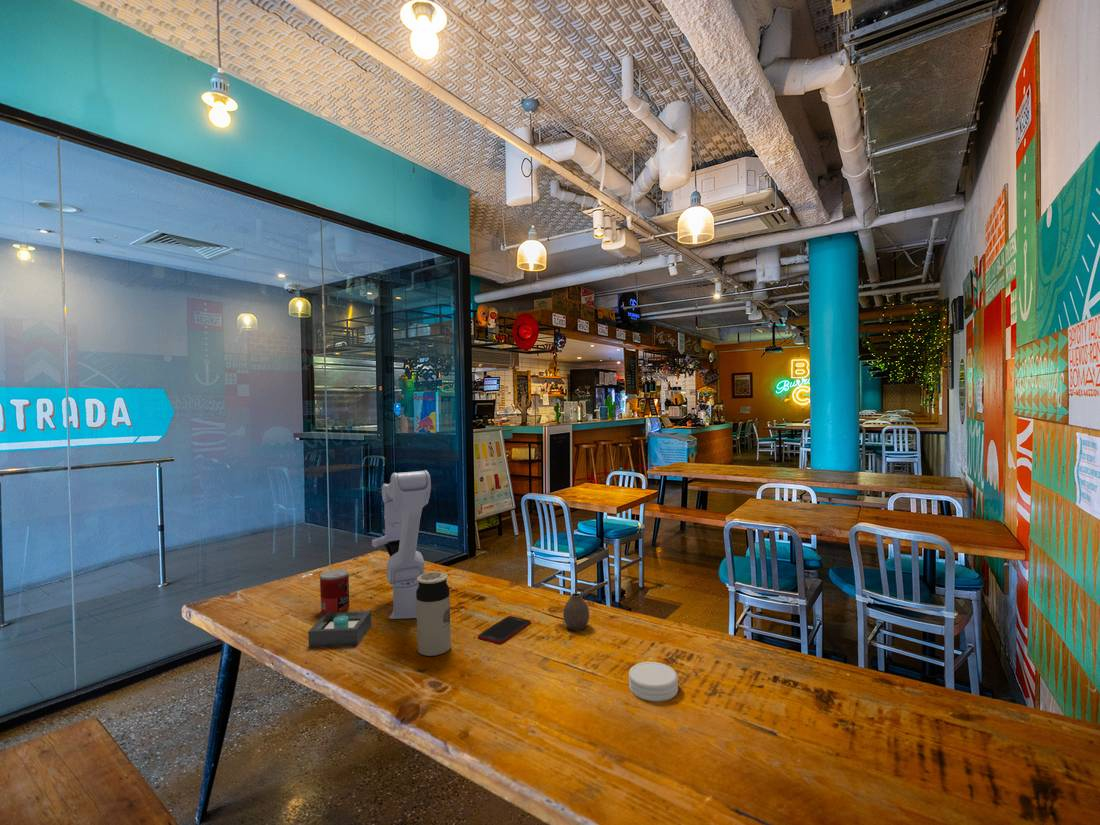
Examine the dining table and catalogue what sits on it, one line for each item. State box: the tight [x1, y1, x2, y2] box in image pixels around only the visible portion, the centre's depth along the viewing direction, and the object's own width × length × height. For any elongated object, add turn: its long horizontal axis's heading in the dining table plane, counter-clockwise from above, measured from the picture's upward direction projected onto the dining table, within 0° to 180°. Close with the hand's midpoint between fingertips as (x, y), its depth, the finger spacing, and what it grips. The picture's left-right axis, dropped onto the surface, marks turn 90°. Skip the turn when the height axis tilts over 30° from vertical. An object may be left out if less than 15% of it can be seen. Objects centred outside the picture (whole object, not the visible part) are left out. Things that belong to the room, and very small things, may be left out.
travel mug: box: [416, 571, 452, 657], centre depth 128 cm, size 8×8×18 cm
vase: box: [562, 592, 590, 631], centre depth 139 cm, size 7×7×9 cm
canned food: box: [319, 568, 350, 615], centre depth 154 cm, size 8×8×11 cm
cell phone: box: [477, 615, 532, 645], centre depth 138 cm, size 8×15×1 cm, turn 150°
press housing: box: [307, 610, 372, 648], centre depth 137 cm, size 12×12×4 cm
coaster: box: [628, 661, 679, 702], centre depth 108 cm, size 10×10×4 cm
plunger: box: [324, 616, 359, 629], centre depth 137 cm, size 9×9×4 cm
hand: (395, 564), depth 163 cm, fingers closed
